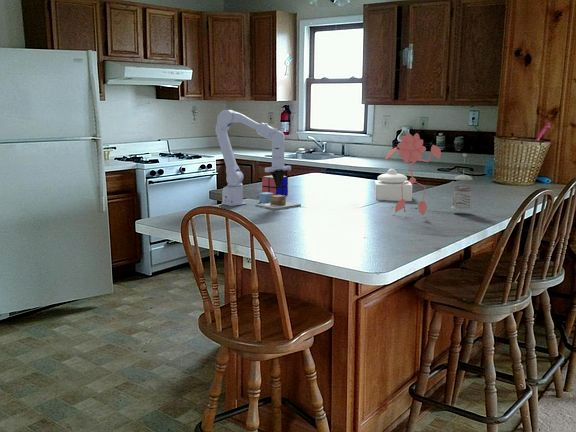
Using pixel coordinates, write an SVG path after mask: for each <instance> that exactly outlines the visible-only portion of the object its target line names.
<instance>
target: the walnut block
mask: <svg viewBox="0 0 576 432" xmlns="http://www.w3.org/2000/svg"><path fill="white" fill-rule="evenodd" d="M286 202H287V195H285V196H283V195H273V196H271V204H272V205H277V206H278V205H285V204H286Z"/></svg>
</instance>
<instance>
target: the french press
mask: <svg viewBox="0 0 576 432" xmlns="http://www.w3.org/2000/svg"><path fill="white" fill-rule="evenodd" d="M467 156H468V155H467V154H466V153H462V157H464V158H463V160H464V161H463V162H465V161H466V160H465V158H466V157H467ZM462 173H463V174H459V175H458V176H457V175H456V176H455V177H454V180H456V181H473V177H471V176H469V175H466V174H465V170H463V172H462ZM454 180H453V181H450V182H449V184H448V185H447V189H449V187H450V185H451V184H452V183H453V185H455V184H456V182H455V181H454ZM454 188H455V189H454V190H453V195H451V194H450V191H449V190H447V193H448V195H449V196H450V197H452V205H451V206H450V208H451V209H454V210H458V211H459V210H461V211H463V210H464V211H467V210H468V211H469V210H473V209H474V208H473V206H471V205H472V204H471V202H472V190H471V188H472V187H471V186H468V185H467V186H465V185H456V186H454Z"/></svg>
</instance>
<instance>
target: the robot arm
mask: <svg viewBox="0 0 576 432" xmlns="http://www.w3.org/2000/svg"><path fill="white" fill-rule="evenodd" d="M216 120H217V121H216V125H215V128H214V129H215V130H214V131H215V134H216V138H217V141H218V145H219V148H220V151H221V155H222V157H223V160H224V164H225V173H226V183H227V185H226V186H224V187H223V188H222V191H221V196H222V197H221V199H222V202H221V205H226V206H229V207H232V206H235V207H236V206H240V205H247V204H248V202H244V191H243V190H244V188H243V187H244V185H243V181H244V177H245V176H244V175H245V174H244V173H243V172H242V171H241V169H240V166H239V165H238V163H237V161H236V157H235V154H234V150H233V148H232V144H231V140H230V137H229V134H228V131H229V129H230V128H231V126H232V125H233V124H234V123H241V124H243V125H245V126H248V127H249V128H251V129H253V130H256V134H257V135H259V136H260V137H263V138H264V139H266V140H269V141H271V166H268V167H264V172H265V173H270V174H271V175H272V176H273V178H274V181H275V185H276V187H281V183H282V179H283V177H284V176H286V171H292V165H285V141H286V136H285V133H284V131H282V130H278V128H276V127H272V126H270V125H269V123H267V122H265V123H264V122H261V123H259V122H257V121H255V120H253V119H252V118H250V117H248V116H247V115H244V114H243V113H241V112H238V111H235V110H234V109H224V110H221V111H220V113H219V114H218V115H217V119H216Z"/></svg>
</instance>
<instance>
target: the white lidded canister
mask: <svg viewBox="0 0 576 432" xmlns="http://www.w3.org/2000/svg"><path fill="white" fill-rule="evenodd" d="M408 181H409V180H408V177H407V176H406V175H405V174H402V173H398V172H397V170H396V169H395V168H389V169H388V170H387V172H386V173H382V174H380V175H378V176H377V180H375V179H374V188H373V189H374V190H373V192H374V194H373V195H374V198H375V200H376V201H395V202H396V201H397V202H398V201H400V200H401V199H402V189H403V199H405V202H412V201H413V184H412V183H410V182H408ZM406 182H408V183H406ZM404 183H406V184H404ZM402 184H404V185H402Z"/></svg>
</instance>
